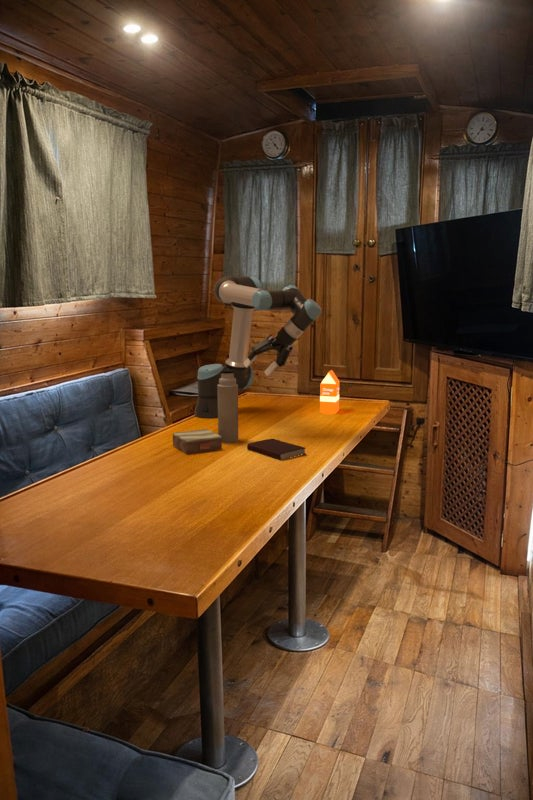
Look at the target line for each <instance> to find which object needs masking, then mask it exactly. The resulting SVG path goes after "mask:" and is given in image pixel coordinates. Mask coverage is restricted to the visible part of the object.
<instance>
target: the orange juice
mask: <svg viewBox="0 0 533 800" xmlns="http://www.w3.org/2000/svg"><path fill="white" fill-rule="evenodd" d="M319 387H320V388H319V390H320V391H319V392H320V393H319V414H320V413H323V414H322V415H332V414H336V413H337V412H338V411H340V379H339V378H338V377H337V375H336V374H335V372H334V370H333V369H331V370H329V371H328V372H327V374H326V376H325V377H324V378H323V380H322V381H321V382H320V386H319ZM338 413H339V412H338ZM338 413H337V414H338ZM337 414H336V415H337Z"/></svg>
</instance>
